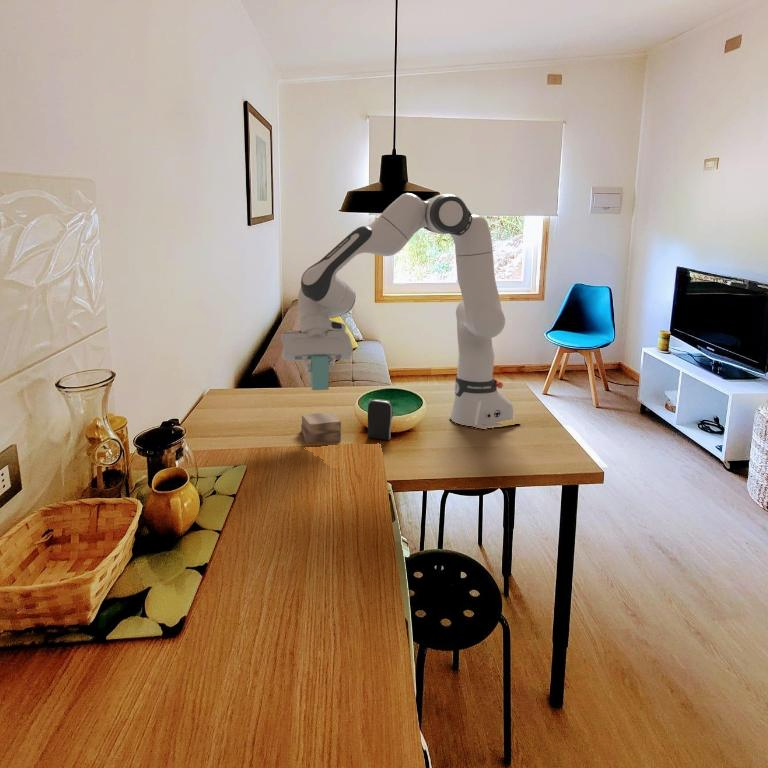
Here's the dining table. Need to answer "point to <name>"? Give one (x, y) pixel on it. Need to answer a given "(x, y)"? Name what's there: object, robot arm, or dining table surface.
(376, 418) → the battery
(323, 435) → the tower base
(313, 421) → the tower top
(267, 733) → the dining table surface
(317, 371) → the teal post
